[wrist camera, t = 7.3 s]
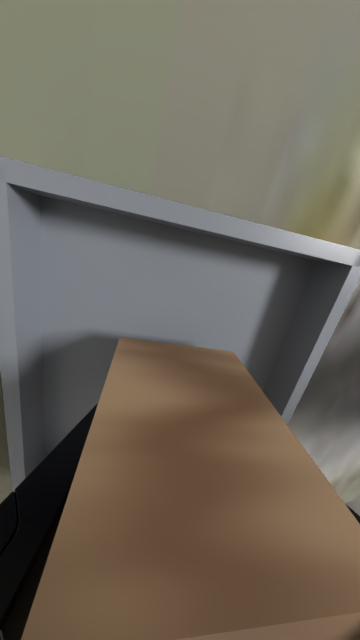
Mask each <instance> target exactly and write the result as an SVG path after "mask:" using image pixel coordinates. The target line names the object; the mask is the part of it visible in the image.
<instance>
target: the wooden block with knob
mask: <svg viewBox="0 0 360 640" xmlns="http://www.w3.org/2000/svg"><path fill="white" fill-rule="evenodd" d="M21 640H360V524H359V522H358V521H357V520H356V518H355V517H354V515H353V514H352V513H351V511H350V510H349V509H348V507H347V506H346V505H345V503H344V502H343V500H342V499H341V498H340V496H339V495H338V494H337V492H336V491H335V490H334V488H333V487H332V485H331V484H330V483H329V481H328V480H327V479H326V477H325V476H324V474H323V473H322V472H321V470H320V469H319V468H318V466H317V465H316V464H315V462H314V461H313V459H312V458H311V457H310V455H309V454H308V453H307V451H306V450H305V448H304V447H303V446H302V444H301V443H300V442H299V440H298V439H297V438H296V436H295V435H294V433H293V432H292V431H291V429H290V428H289V427H288V425H287V424H286V423H285V421H284V420H283V418H282V417H281V416H280V414H279V413H278V412H277V410H276V409H275V407H274V406H273V405H272V403H271V402H270V401H269V399H268V398H267V397H266V395H265V394H264V392H263V391H262V390H261V388H260V387H259V386H258V384H257V383H256V382H255V380H254V379H253V377H252V376H251V375H250V373H249V372H248V371H247V369H246V368H245V366H244V365H243V364H242V362H241V361H240V360H239V358H238V357H237V356H236V354H235V353H234V352H233V351H225V350H217V349H209V348H201V347H194V346H186V345H178V344H170V343H162V342H154V341H147V340H139V339H131V338H123V337H120V338H119V341H118V344H117V347H116V350H115V353H114V356H113V360H112V363H111V366H110V369H109V372H108V375H107V378H106V381H105V384H104V387H103V390H102V393H101V396H100V399H99V402H98V405H97V408H96V412H95V415H94V418H93V421H92V424H91V427H90V430H89V433H88V436H87V439H86V442H85V445H84V448H83V451H82V454H81V457H80V461H79V464H78V467H77V470H76V473H75V476H74V479H73V482H72V485H71V488H70V491H69V494H68V497H67V500H66V503H65V506H64V509H63V513H62V516H61V519H60V522H59V525H58V528H57V531H56V534H55V537H54V540H53V543H52V546H51V549H50V552H49V555H48V558H47V561H46V565H45V568H44V571H43V574H42V577H41V580H40V583H39V586H38V589H37V592H36V595H35V598H34V601H33V604H32V607H31V610H30V614H29V617H28V620H27V623H26V626H25V629H24V632H23V635H22V638H21Z"/></svg>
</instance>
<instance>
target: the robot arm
mask: <svg viewBox="0 0 360 640" xmlns="http://www.w3.org/2000/svg"><path fill="white" fill-rule="evenodd" d="M97 405H98V404H96V405H95V406H94V407H93V408H92V409H91V410H90V411H89V412H88V413H87V415H86V416H85V417H84V418H83V419H82V420H81V421H80V422H79V423H78V424H77V425H76V426H75V427H74V428H73V429H72V430H71V431H70V432H69V433H68V434H67V435H66V436H65V437H64V438H63V439H62V441H61V442H60V443H59V444H58V445H57V446H56V447H55V448H54V449H53V450H52V451H51V452H50V453H49V454H48V455H47V456H46V457H45V458H44V459H43V460H42V461H41V462H40V463H39V464H38V466H37V467H36V468H35V469H34V470H33V471H32V472H31V473H30V474H29V475H28V476H27V477H26V478H25V479H24V480H23V481H22V482H21V483H20V484H19V485H18V486H17V487H16V488H15V492H11V493H10V494H9V495H8V497H7V498H6V499H5V500H4V501H3V502H2V503H1V504H0V640H21V638H22V635H23V632H24V629H25V626H26V623H27V620H28V617H29V614H30V610H31V607H32V604H33V601H34V598H35V595H36V592H37V589H38V586H39V583H40V580H41V577H42V574H43V571H44V568H45V565H46V561H47V558H48V555H49V552H50V549H51V546H52V543H53V540H54V537H55V534H56V531H57V528H58V525H59V522H60V519H61V516H62V513H63V509H64V506H65V503H66V500H67V497H68V494H69V491H70V488H71V485H72V482H73V479H74V476H75V473H76V470H77V467H78V464H79V461H80V457H81V454H82V451H83V448H84V445H85V442H86V439H87V436H88V433H89V430H90V427H91V424H92V421H93V418H94V415H95V412H96V408H97ZM345 505H346V504H345ZM346 506H347V505H346ZM347 507H348V506H347ZM348 509H349V510H350V511H351V513H352V514H353V515H354V517H355V518H356V520H357V521H358V522H359V524H360V516H359V515H358V514H357V513H355V512H354V511H353V510H352V509H351V508H350V507H348Z"/></svg>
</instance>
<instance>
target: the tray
mask: <svg viewBox="0 0 360 640" xmlns="http://www.w3.org/2000/svg"><path fill="white" fill-rule="evenodd" d="M359 280H360V250H358V249H355V248H351V247H347V246H343V245H339V244H335V243H332V242H328V241H324V240H320V239H316V238H312V237H309V236H305V235H301V234H297V233H293V232H289V231H286V230H282V229H278V228H274V227H270V226H266V225H263V224H259V223H255V222H251V221H247V220H243V219H240V218H236V217H232V216H228V215H224V214H220V213H217V212H213V211H209V210H205V209H201V208H197V207H194V206H190V205H186V204H182V203H178V202H174V201H171V200H167V199H163V198H159V197H155V196H151V195H148V194H144V193H140V192H136V191H132V190H128V189H125V188H121V187H117V186H113V185H109V184H105V183H102V182H98V181H94V180H90V179H86V178H82V177H79V176H75V175H71V174H67V173H63V172H59V171H56V170H52V169H48V168H44V167H40V166H36V165H33V164H29V163H25V162H21V161H17V160H13V159H10V158H6V157H2V156H0V371H1V381H2V391H3V402H4V412H5V422H6V432H7V443H8V453H9V463H10V474H11V484H12V492H15V488H16V487H17V486H18V485H19V484H20V483H21V482H22V481H23V480H24V479H25V478H26V477H27V476H28V475H29V474H30V473H31V472H32V471H33V470H34V469H35V468H36V467H37V466H38V464H39V463H40V462H41V461H42V460H43V459H44V458H45V457H46V456H47V455H48V454H49V453H50V452H51V451H52V450H53V449H54V448H55V447H56V446H57V445H58V444H59V443H60V442H61V441H62V439H63V438H64V437H65V436H66V435H67V434H68V433H69V432H70V431H71V430H72V429H73V428H74V427H75V426H76V425H77V424H78V423H79V422H80V421H81V420H82V419H83V418H84V417H85V416H86V415H87V413H88V412H89V411H90V410H91V409H92V408H93V407H94V406H95V405H96V404H98V402H99V399H100V396H101V393H102V390H103V387H104V384H105V381H106V378H107V375H108V372H109V369H110V366H111V363H112V360H113V356H114V353H115V350H116V347H117V344H118V341H119V338H120V337H123V338H131V339H139V340H147V341H154V342H162V343H170V344H178V345H186V346H194V347H201V348H209V349H217V350H225V351H233V352H234V353H235V354H236V356H237V357H238V358H239V360H240V361H241V362H242V364H243V365H244V366H245V368H246V369H247V371H248V372H249V373H250V375H251V376H252V377H253V379H254V380H255V382H256V383H257V384H258V386H259V387H260V388H261V390H262V391H263V392H264V394H265V395H266V397H267V398H268V399H269V401H270V402H271V403H272V405H273V406H274V407H275V409H276V410H277V412H278V413H279V414H280V416H281V417H282V418H283V420H284V421H285V423H286V424H287V425H288V423H289V421H290V419H291V417H292V415H293V413H294V411H295V409H296V407H297V405H298V403H299V401H300V399H301V397H302V395H303V393H304V391H305V389H306V387H307V385H308V383H309V381H310V379H311V377H312V375H313V373H314V371H315V369H316V367H317V365H318V363H319V361H320V358H321V356H322V354H323V352H324V350H325V348H326V346H327V344H328V342H329V340H330V338H331V336H332V334H333V332H334V330H335V328H336V326H337V324H338V322H339V320H340V318H341V316H342V314H343V312H344V310H345V308H346V306H347V304H348V302H349V300H350V298H351V296H352V294H353V292H354V290H355V288H356V286H357V284H358V282H359Z"/></svg>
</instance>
